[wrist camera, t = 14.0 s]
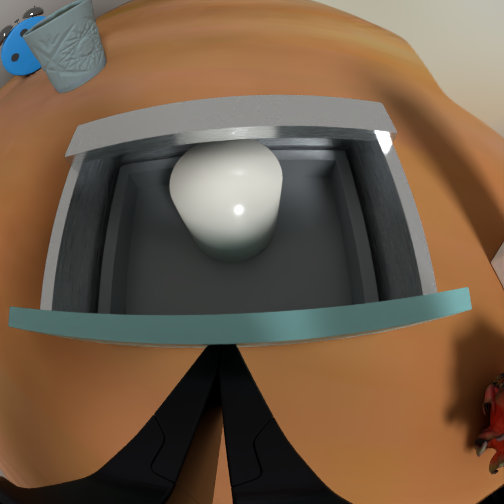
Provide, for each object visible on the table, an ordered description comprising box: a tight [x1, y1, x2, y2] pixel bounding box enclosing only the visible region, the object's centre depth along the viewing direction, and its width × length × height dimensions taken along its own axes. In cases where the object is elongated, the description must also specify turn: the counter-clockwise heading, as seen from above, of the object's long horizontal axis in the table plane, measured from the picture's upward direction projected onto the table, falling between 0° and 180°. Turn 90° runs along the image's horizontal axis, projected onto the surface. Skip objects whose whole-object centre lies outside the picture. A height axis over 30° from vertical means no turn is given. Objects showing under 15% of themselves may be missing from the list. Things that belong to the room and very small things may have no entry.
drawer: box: [9, 150, 472, 348], centre depth 13 cm, size 11×17×8 cm, turn 93°
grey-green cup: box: [23, 0, 106, 93], centre depth 21 cm, size 10×10×12 cm
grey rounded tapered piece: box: [170, 139, 283, 262], centre depth 14 cm, size 5×5×4 cm
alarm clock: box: [0, 6, 46, 76], centre depth 25 cm, size 13×6×15 cm, turn 138°
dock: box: [40, 95, 437, 314], centre depth 14 cm, size 11×17×7 cm, turn 93°
